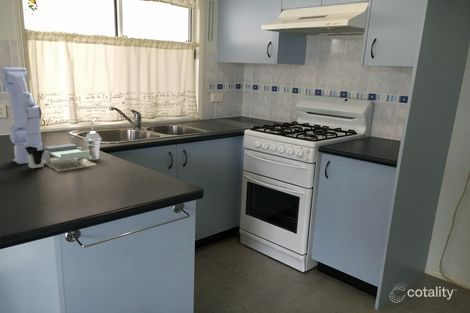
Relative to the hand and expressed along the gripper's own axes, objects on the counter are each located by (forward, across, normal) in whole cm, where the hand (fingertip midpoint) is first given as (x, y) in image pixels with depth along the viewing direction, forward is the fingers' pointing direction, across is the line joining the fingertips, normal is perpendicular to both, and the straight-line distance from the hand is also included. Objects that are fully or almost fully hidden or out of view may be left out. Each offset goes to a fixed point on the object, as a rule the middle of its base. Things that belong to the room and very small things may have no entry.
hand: (35, 163), depth 172 cm
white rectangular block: (+1, 0, 0) cm, 1 cm away
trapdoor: (-1, 0, +14) cm, 14 cm away
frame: (+2, +1, +14) cm, 14 cm away
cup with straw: (+2, -2, +28) cm, 28 cm away
